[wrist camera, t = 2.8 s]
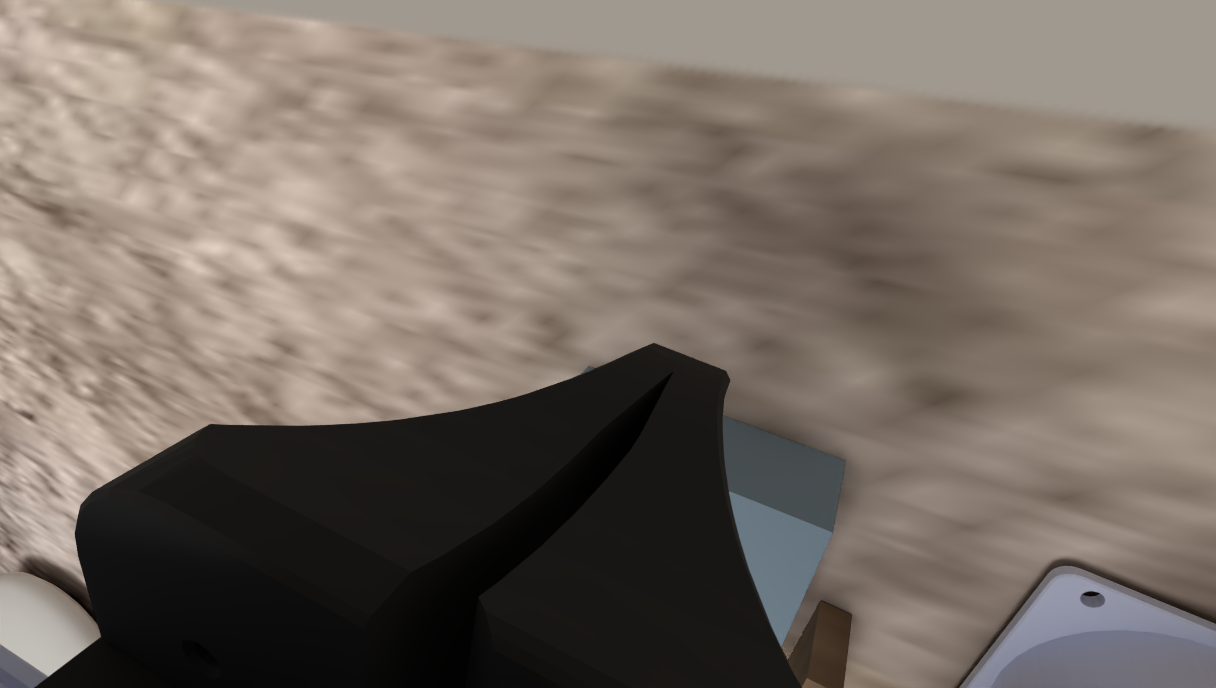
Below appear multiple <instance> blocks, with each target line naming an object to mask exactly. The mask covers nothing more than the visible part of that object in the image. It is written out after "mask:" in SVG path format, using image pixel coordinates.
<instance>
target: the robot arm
mask: <svg viewBox="0 0 1216 688" xmlns="http://www.w3.org/2000/svg"><path fill="white" fill-rule="evenodd" d="M729 383H730V378H729V376H728V374H727V372H726V371H725V370H722V369H720V368H717V367H715V366H712V365H709V364H707V363H704V362H702V361H699V360H696V359H694V358H691V357H689V356H686V355H684V354H681V353H678V352H676V351H673V350H671V349H668V348H666V347H663V346H660V345H658V344H655V343H653V344H650V345H648V346H645V347H643V348H641V349H638V350H636V351H634V352H631V353H629V354H627V355H625V356H623V357H620V358H618V359H616V360H614V361H611V362H609V363H607V364H605V365H602V366H600V367H598V368H595V369H593V370H591V371H588V372H586V373H583V374H581V375H578V376H576V377H574V378H571V379H569V380H566V381H563V382H560V383H557V384H554V385H551V386H548V387H546V388H543V389H540V390H537V391H534V392H531V393H528V394H525V395H522V396H518V397H515V398H511V399H507V400H504V401H500V402H496V403H491V404H487V405H483V406H478V407H474V408H470V409H465V410H460V411H454V412H447V413H441V414H434V415H427V416H420V417H414V418H407V419H400V420H392V421H381V422H369V423H357V424H337V425H313V426H271V425H219V424H210V425H208V426H206V427H204V428H202V429H200V430H199V431H197V432H195V433H193V434H192V435H190V436H188V437H186V438H185V439H183V440H181V441H179V442H178V443H176V444H174V445H173V446H171V447H169V448H167V449H166V450H164V451H162V452H160V453H159V454H157V455H155V456H154V457H152V458H150V459H148V460H147V461H145V462H143V463H141V464H140V465H138V466H136V467H135V468H133V469H131V470H129V471H128V472H126V473H124V474H122V475H121V476H119V477H117V478H115V479H114V480H112V481H110V482H109V483H107V484H105V485H103V486H102V487H100V488H98V489H96V490H95V491H93V492H92V493H91V494H90V495H89V496H88V497H87V498H86V500H85V501H84V502H83V503H82V504H81V506H80V510H79V514H78V519H77V524H76V530H75V539H76V545H77V551H78V557H79V561H80V564H81V568H82V571H83V575H84V578H85V582H86V586H87V589H88V593H89V596H90V600H91V603H92V607H93V610H94V614H95V617H96V621H97V625H98V628H99V632H100V635H101V637H100V638H98V639H97V640H96V641H95V642H93V643H92V644H91V645H89V646H88V647H87V648H85V649H84V650H83V651H81V652H80V653H79V654H77V655H76V656H75V657H74V658H72V659H71V660H70V661H68V662H67V663H66V664H64V665H63V666H62V667H60V668H59V669H58V670H56V671H55V672H54V673H52V674H51V675H50V676H49V677H48V676H47V675H45V674H44V673H42V672H41V671H39V670H38V669H36V668H35V667H33V666H32V665H31V664H29V663H28V662H26V661H25V660H23V659H22V658H20V657H19V656H17V655H16V654H14V653H13V652H11V651H10V650H8V649H7V648H5V647H4V646H2V645H1V644H0V688H802V687H801V685H800V683H799V682H798V680H797V678H796V676H795V675H794V673H793V671H792V669H791V667H790V665H789V663H788V660H787V658H786V656H785V654H784V652H783V650H782V648H781V646H780V644H779V641H778V639H777V637H776V635H775V633H774V631H773V629H772V627H771V624H770V621H769V619H768V616H767V614H766V611H765V609H764V606H763V604H762V601H761V599H760V596H759V593H758V591H757V588H756V586H755V583H754V581H753V578H752V576H751V573H750V570H749V567H748V564H747V561H746V558H745V554H744V551H743V548H742V545H741V541H740V538H739V534H738V530H737V526H736V522H735V518H734V514H733V510H732V505H731V500H730V494H729V489H728V482H727V475H726V468H725V459H724V444H723V407H724V398H725V394H726V391H727V388H728V385H729ZM1088 591H1094V592H1099V593H1100V594H1098V595H1097V596H1092V597H1089V596H1085V595H1082V594H1083V593H1085V592H1088ZM959 688H1216V624H1215V623H1212V622H1210V621H1207V620H1205V619H1202V618H1200V617H1198V616H1195V615H1193V614H1190V613H1188V612H1185V611H1183V610H1180V609H1178V608H1176V607H1173V606H1171V605H1168V604H1166V603H1163V602H1161V601H1158V600H1156V599H1154V598H1151V597H1149V596H1146V595H1144V594H1141V593H1139V592H1137V591H1134V590H1132V589H1129V588H1127V587H1124V586H1122V585H1119V584H1117V583H1115V582H1112V581H1110V580H1107V579H1105V578H1102V577H1100V576H1097V575H1095V574H1093V573H1090V572H1088V571H1085V570H1083V569H1080V568H1077V567H1073V566H1060V567H1057V568H1054V569H1053V570H1051V571H1050V572H1049V573H1048V574H1047V576H1046V577H1045V578H1044V579H1043V581H1042V582H1041V583H1040V585H1039V586H1038V587H1037V588H1036V590H1035V591H1034V592H1033V594H1032V595H1031V596H1030V597H1029V599H1028V600H1027V601H1026V603H1025V604H1024V605H1023V606H1022V608H1021V609H1020V610H1019V612H1018V613H1017V614H1016V615H1015V617H1014V618H1013V619H1012V621H1011V622H1010V623H1009V624H1008V626H1007V627H1006V628H1005V630H1004V631H1003V632H1002V633H1001V635H1000V636H999V637H998V638H997V640H996V641H995V642H994V644H993V645H992V646H991V647H990V649H989V650H988V651H987V653H986V654H985V655H984V656H983V658H982V659H981V660H980V662H979V663H978V664H977V665H976V667H975V668H974V669H973V671H972V672H971V673H970V674H969V676H968V677H967V678H966V680H965V681H964V682H963V683H962V685H961V686H960V687H959Z"/></svg>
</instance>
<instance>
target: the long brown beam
mask: <svg viewBox="0 0 1216 688" xmlns="http://www.w3.org/2000/svg"><path fill="white" fill-rule="evenodd" d="M851 619H852V615H850V614H848V613H846V612H844V611H842V610H839V609H837V608H835V607H833V606H831V605H829V604H826V603H824V602H822V601H820V603H819V604H818V606H817V608H816V610H815V612H814V614H813V615H812V617H811V619H810V621H809V623H808V625H807V626H806V628H805V630H804V632H803V634H802V636H801V637H800V639H799V641H798V643H797V645H796V647H795V648H794V650H793V652H792V654H791V656H790V658H789V659H788V663H789V665H790V667H791V669H792V671H793V673H794V675H795V676H796V678H797V680H798V682H799V683H800V685H801V687H802V688H844V679H845V671H846V662H847V654H848V645H849V637H850V628H851Z"/></svg>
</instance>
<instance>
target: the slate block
mask: <svg viewBox="0 0 1216 688" xmlns="http://www.w3.org/2000/svg"><path fill="white" fill-rule="evenodd" d="M593 369H595V368H593V367H590V366H588V368H587V369H586V370H585V371H584V372H583V373H586V372H588V371H591V370H593ZM583 373H582V374H583ZM723 444H724V459H725V468H726V475H727V482H728V489H729V494H730V500H731V505H732V510H733V514H734V518H735V522H736V526H737V530H738V534H739V538H740V541H741V545H742V548H743V551H744V554H745V558H746V561H747V564H748V567H749V570H750V573H751V576H752V578H753V581H754V583H755V586H756V588H757V591H758V593H759V596H760V599H761V601H762V604H763V606H764V609H765V611H766V614H767V616H768V619H769V621H770V624H771V627H772V629H773V631H774V633H775V635H776V637H777V639H778V641H779V644H780V646H782V644H783V642H784V640H785V638H786V635H787V633H788V631H789V629H790V627H791V624H792V622H793V620H794V618H795V615H796V613H797V611H798V609H799V607H800V604H801V602H802V600H803V598H804V596H805V593H806V591H807V589H808V587H809V584H810V582H811V580H812V578H813V576H814V573H815V571H816V569H817V567H818V565H819V562H820V560H821V558H822V556H823V553H824V551H825V549H826V547H827V545H828V542H829V540H830V538H831V536H832V534H833V529H834V524H835V518H836V512H837V507H838V501H839V495H840V490H841V484H842V479H843V473H844V467H845V462H846V461H845V460H842V459H840V458H837V457H834V456H832V455H829V454H826V453H823V452H821V451H818V450H815V449H813V448H810V447H807V446H804V445H802V444H799V443H796V442H794V441H791V440H788V439H785V438H783V437H780V436H777V435H775V434H772V433H769V432H766V431H764V430H761V429H758V428H756V427H753V426H750V425H747V424H745V423H742V422H739V421H737V420H734V419H731V418H728V417H726V416H723Z"/></svg>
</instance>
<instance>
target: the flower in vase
mask: <svg viewBox="0 0 1216 688" xmlns="http://www.w3.org/2000/svg"><path fill="white" fill-rule="evenodd" d="M100 637H101V635H100V632H99V628H98V625H97V623H96V622H95V621H94V620H93V618H92V617H91V616H90V615H89V614H88V613H87V612H86V611H85V610H84V609H83V608H82V607H81V606H80V605H79V604H78V603H77V602H76V601H75V600H74V599H73V598H71V597H70V596H69V595H68V594H66V593H65V592H64V591H62V590H61V589H60V588H58V587H57V586H55V585H53V584H51V583H50V582H47V581H45V580H43V579H40V578H38V577H36V576H33V575H31V574H28V573H25V572H12V573H4V574H0V644H1V645H2V646H4V647H5V648H7V649H8V650H10V651H11V652H13V653H14V654H16V655H17V656H19V657H20V658H22V659H23V660H25V661H26V662H28V663H29V664H31V665H32V666H33V667H35V668H36V669H38V670H39V671H41V672H42V673H44V674H45V675H47V676H48V677H49V676H50V675H51V674H52V673H54V672H55V671H56V670H58V669H59V668H60V667H62V666H63V665H64V664H66V663H67V662H68V661H70V660H71V659H72V658H74V657H75V656H76V655H77V654H79V653H80V652H81V651H83V650H84V649H85V648H87V647H88V646H89V645H91V644H92V643H93V642H95V641H96V640H97V639H98V638H100Z"/></svg>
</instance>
